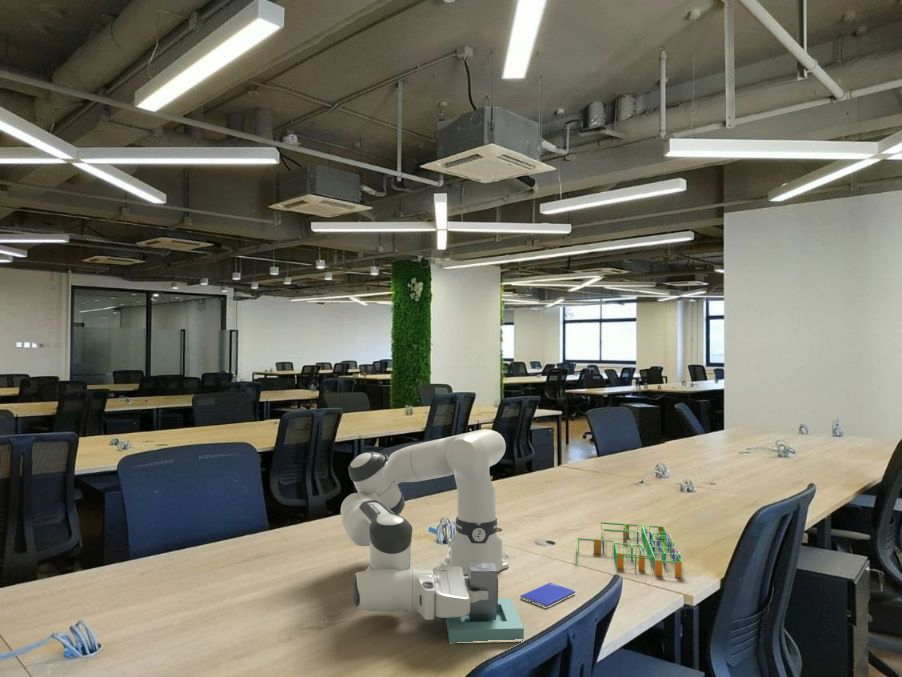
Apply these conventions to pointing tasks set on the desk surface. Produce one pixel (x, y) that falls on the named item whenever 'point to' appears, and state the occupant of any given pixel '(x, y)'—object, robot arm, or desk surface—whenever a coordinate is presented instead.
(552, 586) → the blue book
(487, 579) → the block
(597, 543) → the house model
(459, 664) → the desk surface
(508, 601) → the tray
